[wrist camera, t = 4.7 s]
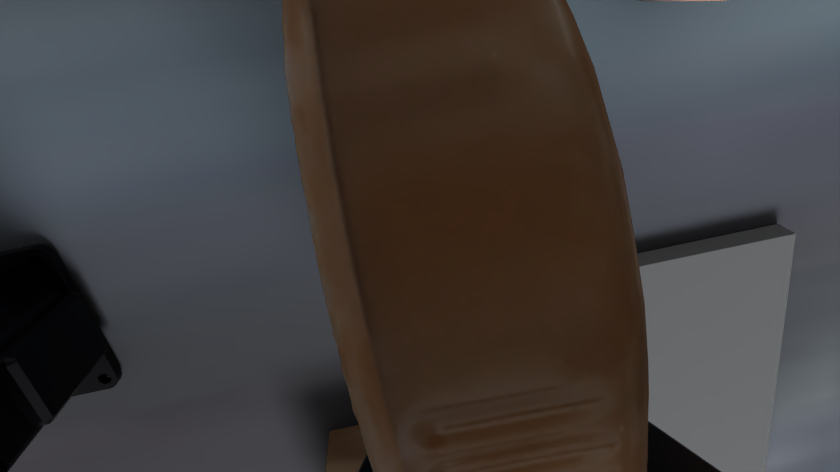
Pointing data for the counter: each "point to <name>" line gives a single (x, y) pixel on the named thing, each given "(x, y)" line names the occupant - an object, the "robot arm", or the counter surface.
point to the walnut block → (345, 450)
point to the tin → (470, 234)
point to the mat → (717, 341)
